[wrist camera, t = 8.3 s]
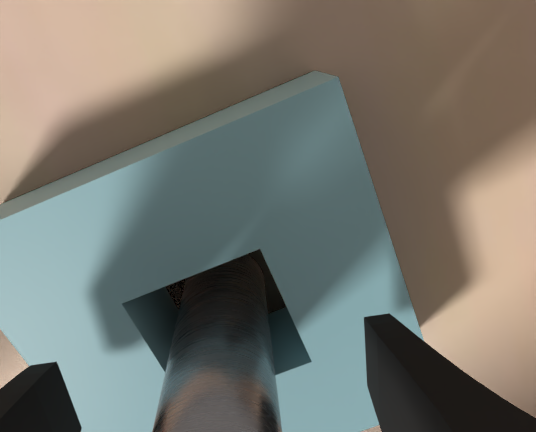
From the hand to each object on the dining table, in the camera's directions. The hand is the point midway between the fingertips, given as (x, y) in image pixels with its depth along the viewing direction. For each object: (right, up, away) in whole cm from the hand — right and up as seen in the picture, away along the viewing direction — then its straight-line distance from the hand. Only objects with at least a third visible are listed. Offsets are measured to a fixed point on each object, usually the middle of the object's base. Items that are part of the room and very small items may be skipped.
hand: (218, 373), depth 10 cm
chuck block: (0, +2, +4) cm, 4 cm away
